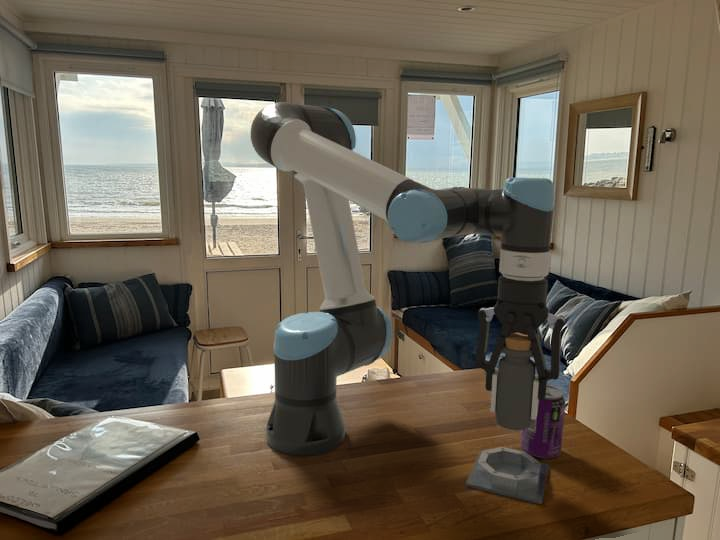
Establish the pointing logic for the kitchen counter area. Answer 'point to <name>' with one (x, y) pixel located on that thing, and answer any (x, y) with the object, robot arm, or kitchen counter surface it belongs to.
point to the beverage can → (546, 426)
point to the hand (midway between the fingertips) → (513, 412)
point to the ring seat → (509, 474)
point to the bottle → (515, 383)
